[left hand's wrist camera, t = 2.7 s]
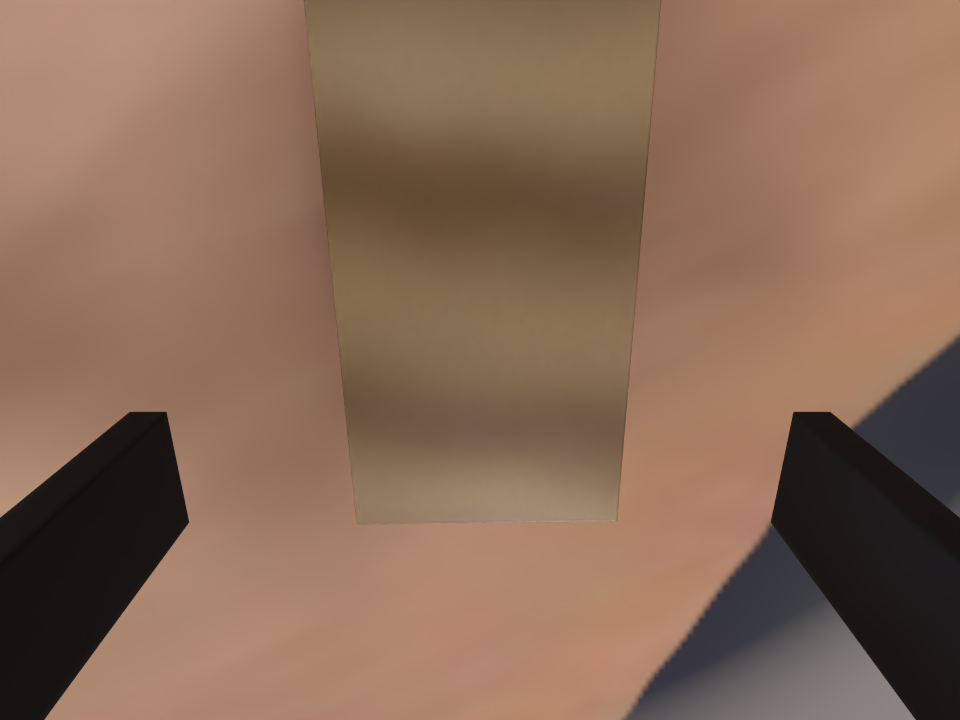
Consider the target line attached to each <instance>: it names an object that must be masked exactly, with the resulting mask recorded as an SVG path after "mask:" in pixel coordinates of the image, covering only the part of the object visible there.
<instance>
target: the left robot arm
mask: <svg viewBox="0 0 960 720" xmlns="http://www.w3.org/2000/svg"><path fill="white" fill-rule="evenodd" d="M188 523H189V519H188V514H187V510H186V505H185V500H184V495H183V490H182V485H181V480H180V476H179V471H178V466H177V461H176V456H175V451H174V446H173V442H172V437H171V432H170V427H169V422H168V417H167V412H129V413H128V414H127V415H126V416H124V417H123V418H122V419H121V420H119V421H118V422H117V423H116V424H115V425H113V426H112V427H111V428H110V429H108V430H107V431H106V432H105V433H103V434H102V435H101V436H100V437H99V438H97V439H96V440H95V441H94V442H92V443H91V444H90V445H89V446H88V447H86V448H85V449H84V450H83V451H81V452H80V453H79V454H78V455H77V456H75V457H74V458H73V459H72V460H70V461H69V462H68V463H67V464H66V465H64V466H63V467H62V468H61V469H59V470H58V471H57V472H56V473H55V474H53V475H52V476H51V477H50V478H48V479H47V480H46V481H45V482H44V483H42V484H41V485H40V486H39V487H37V488H36V489H35V490H34V491H32V492H31V493H30V494H29V495H28V496H26V497H25V498H24V499H23V500H21V501H20V502H19V503H18V504H17V505H15V506H14V507H13V508H12V509H10V510H9V511H8V512H7V513H6V514H4V515H3V516H2V517H1V518H0V720H44V719H45V718H46V717H47V715H48V714H49V712H50V711H51V710H52V708H53V707H54V706H55V704H56V703H57V702H58V700H59V699H60V697H61V696H62V695H63V693H64V692H65V691H66V689H67V688H68V687H69V685H70V684H71V683H72V681H73V680H74V678H75V677H76V676H77V674H78V673H79V672H80V670H81V669H82V668H83V666H84V665H85V663H86V662H87V661H88V659H89V658H90V657H91V655H92V654H93V653H94V651H95V650H96V648H97V647H98V646H99V644H100V643H101V642H102V640H103V639H104V638H105V636H106V635H107V633H108V632H109V631H110V629H111V628H112V627H113V625H114V624H115V623H116V621H117V620H118V618H119V617H120V616H121V614H122V613H123V612H124V610H125V609H126V608H127V606H128V605H129V603H130V602H131V601H132V599H133V598H134V597H135V595H136V594H137V593H138V591H139V590H140V588H141V587H142V586H143V584H144V583H145V582H146V580H147V579H148V578H149V576H150V575H151V574H152V572H153V571H154V569H155V568H156V567H157V565H158V564H159V563H160V561H161V560H162V559H163V557H164V556H165V554H166V553H167V552H168V550H169V549H170V548H171V546H172V545H173V544H174V542H175V541H176V539H177V538H178V537H179V535H180V534H181V533H182V531H183V530H184V529H185V527H186V526H187V524H188ZM771 523H772V524H773V526H774V527H775V528H776V530H777V531H778V533H779V534H780V535H781V537H782V538H783V539H784V541H785V542H786V544H787V545H788V546H789V548H790V549H791V550H792V552H793V553H794V554H795V556H796V557H797V559H798V560H799V561H800V563H801V564H802V565H803V567H804V568H805V569H806V571H807V572H808V574H809V575H810V576H811V578H812V579H813V580H814V582H815V583H816V584H817V586H818V587H819V588H820V590H821V591H822V593H823V594H824V595H825V597H826V598H827V599H828V601H829V602H830V603H831V605H832V606H833V608H834V609H835V610H836V612H837V613H838V614H839V616H840V617H841V618H842V620H843V621H844V623H845V624H846V625H847V627H848V628H849V629H850V631H851V632H852V633H853V635H854V636H855V637H856V639H857V640H858V642H859V643H860V644H861V646H862V647H863V648H864V650H865V651H866V652H867V654H868V655H869V657H870V658H871V659H872V661H873V662H874V663H875V665H876V666H877V668H878V669H879V670H880V672H881V673H882V674H883V676H884V677H885V678H886V680H887V681H888V682H889V684H890V685H891V687H892V688H893V689H894V691H895V692H896V693H897V695H898V696H899V697H900V699H901V700H902V702H903V703H904V704H905V706H906V707H907V708H908V710H909V711H910V712H911V714H912V715H913V717H914V718H915V719H916V720H960V518H959V517H958V516H957V515H956V514H954V513H953V512H952V511H951V510H950V509H948V508H947V507H946V506H945V505H943V504H942V503H941V502H940V501H939V500H937V499H936V498H935V497H934V496H932V495H931V494H930V493H929V492H928V491H926V490H925V489H924V488H923V487H921V486H920V485H919V484H918V483H916V482H915V481H914V480H913V479H912V478H910V477H909V476H908V475H907V474H905V473H904V472H903V471H902V470H901V469H899V468H898V467H897V466H896V465H894V464H893V463H892V462H891V461H890V460H888V459H887V458H886V457H885V456H883V455H882V454H881V453H880V452H878V451H877V450H876V449H875V448H874V447H872V446H871V445H870V444H869V443H867V442H866V441H865V440H864V439H863V438H861V437H860V436H859V435H858V434H856V433H855V432H854V431H853V430H852V429H850V428H849V427H848V426H847V425H845V424H844V423H843V422H842V421H841V420H839V419H838V418H837V417H836V416H834V415H833V414H832V413H831V412H793V417H792V422H791V427H790V432H789V437H788V442H787V446H786V451H785V456H784V461H783V466H782V471H781V476H780V480H779V485H778V490H777V495H776V500H775V505H774V510H773V514H772V519H771Z"/></svg>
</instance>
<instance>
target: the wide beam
mask: <svg viewBox="0 0 960 720" xmlns="http://www.w3.org/2000/svg"><path fill="white" fill-rule="evenodd" d="M304 5H305V15H306V25H307V35H308V45H309V55H310V65H311V75H312V85H313V95H314V105H315V115H316V125H317V135H318V144H319V154H320V164H321V174H322V184H323V194H324V204H325V214H326V224H327V234H328V244H329V254H330V264H331V274H332V284H333V294H334V304H335V314H336V324H337V334H338V344H339V354H340V363H341V373H342V383H343V393H344V403H345V413H346V423H347V433H348V443H349V453H350V463H351V473H352V483H353V493H354V503H355V513H356V523H357V524H424V523H512V522H599V521H617V515H618V503H619V491H620V479H621V468H622V456H623V444H624V432H625V420H626V409H627V397H628V385H629V373H630V361H631V350H632V338H633V326H634V314H635V302H636V291H637V279H638V267H639V255H640V243H641V232H642V220H643V208H644V196H645V184H646V173H647V161H648V149H649V137H650V125H651V114H652V102H653V90H654V78H655V66H656V55H657V43H658V31H659V19H660V7H661V0H304Z"/></svg>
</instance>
